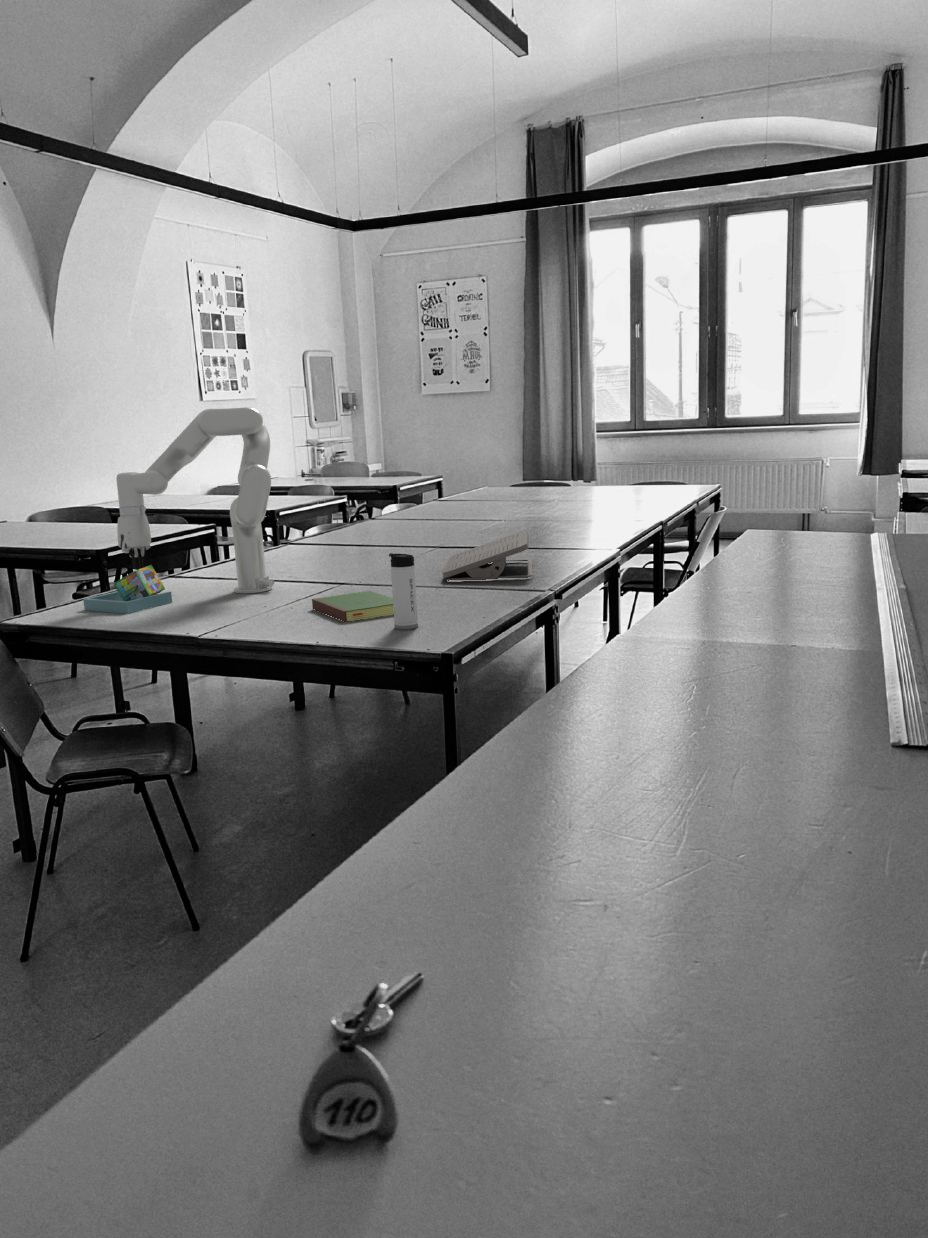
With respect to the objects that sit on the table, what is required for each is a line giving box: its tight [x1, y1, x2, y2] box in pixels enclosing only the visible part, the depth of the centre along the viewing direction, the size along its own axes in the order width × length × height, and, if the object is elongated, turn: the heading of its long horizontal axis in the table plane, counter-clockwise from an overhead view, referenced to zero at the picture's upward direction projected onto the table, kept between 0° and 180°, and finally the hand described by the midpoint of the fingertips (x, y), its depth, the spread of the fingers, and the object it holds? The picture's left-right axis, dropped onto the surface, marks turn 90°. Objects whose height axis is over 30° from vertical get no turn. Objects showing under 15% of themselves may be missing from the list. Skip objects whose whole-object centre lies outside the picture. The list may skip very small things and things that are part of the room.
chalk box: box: [113, 564, 166, 602], centre depth 313 cm, size 9×9×15 cm
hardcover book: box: [311, 590, 394, 623], centre depth 287 cm, size 25×19×4 cm
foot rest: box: [441, 530, 533, 582], centre depth 344 cm, size 39×30×13 cm
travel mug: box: [388, 552, 419, 631], centre depth 261 cm, size 6×7×20 cm
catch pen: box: [83, 590, 173, 615], centre depth 313 cm, size 19×18×4 cm
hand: (138, 568), depth 316 cm, fingers closed
